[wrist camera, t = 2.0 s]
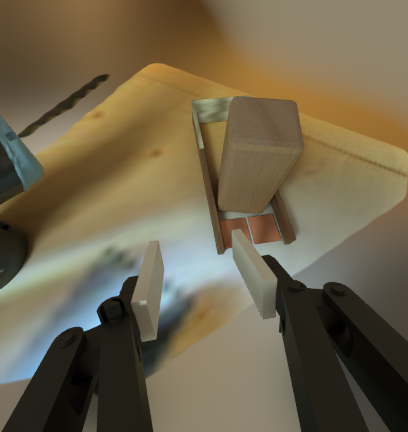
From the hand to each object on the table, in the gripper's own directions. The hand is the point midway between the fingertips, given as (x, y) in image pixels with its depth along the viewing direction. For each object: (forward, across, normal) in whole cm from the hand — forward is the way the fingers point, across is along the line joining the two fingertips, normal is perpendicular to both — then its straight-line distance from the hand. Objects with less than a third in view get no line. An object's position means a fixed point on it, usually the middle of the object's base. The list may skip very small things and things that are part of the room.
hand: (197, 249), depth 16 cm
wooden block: (+28, +12, -4) cm, 31 cm away
